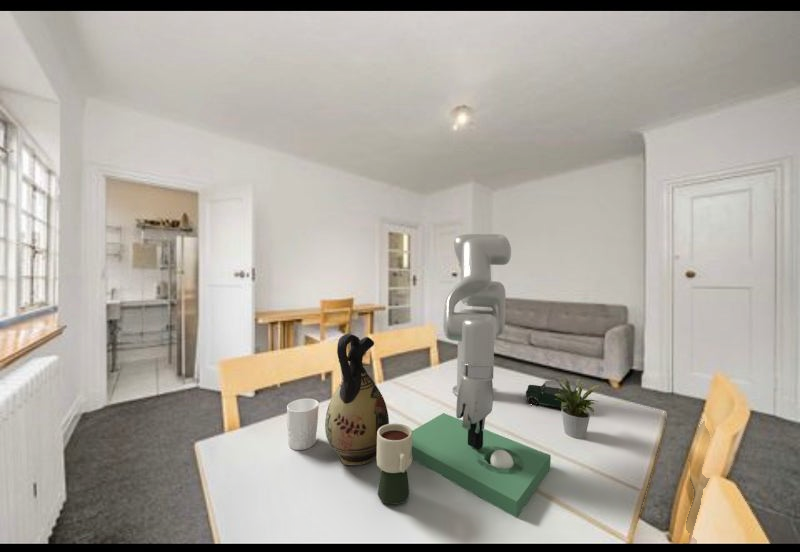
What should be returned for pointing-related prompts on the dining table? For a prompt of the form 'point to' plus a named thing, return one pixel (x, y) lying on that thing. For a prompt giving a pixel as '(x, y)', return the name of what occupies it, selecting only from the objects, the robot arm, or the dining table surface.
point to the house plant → (575, 410)
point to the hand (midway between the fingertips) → (475, 445)
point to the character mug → (394, 462)
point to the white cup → (302, 423)
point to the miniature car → (547, 393)
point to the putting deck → (480, 462)
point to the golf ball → (501, 459)
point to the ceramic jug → (355, 406)
